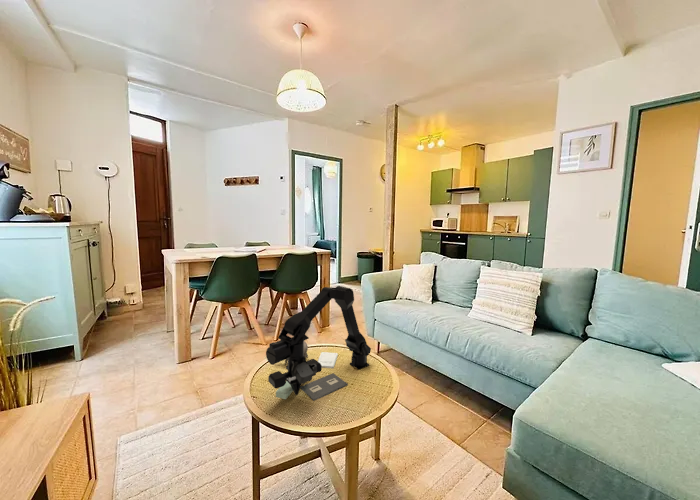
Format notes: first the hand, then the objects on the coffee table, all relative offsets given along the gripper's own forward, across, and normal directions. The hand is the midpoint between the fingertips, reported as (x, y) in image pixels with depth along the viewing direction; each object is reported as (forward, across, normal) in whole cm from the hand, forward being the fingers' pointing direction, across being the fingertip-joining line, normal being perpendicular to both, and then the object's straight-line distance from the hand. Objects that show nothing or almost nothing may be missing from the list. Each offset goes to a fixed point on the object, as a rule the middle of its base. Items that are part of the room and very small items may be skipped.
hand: (296, 394), depth 105 cm
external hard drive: (+3, +26, +17) cm, 31 cm away
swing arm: (0, +2, +6) cm, 6 cm away
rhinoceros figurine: (+3, +12, +25) cm, 28 cm away
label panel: (+2, +13, +4) cm, 14 cm away
